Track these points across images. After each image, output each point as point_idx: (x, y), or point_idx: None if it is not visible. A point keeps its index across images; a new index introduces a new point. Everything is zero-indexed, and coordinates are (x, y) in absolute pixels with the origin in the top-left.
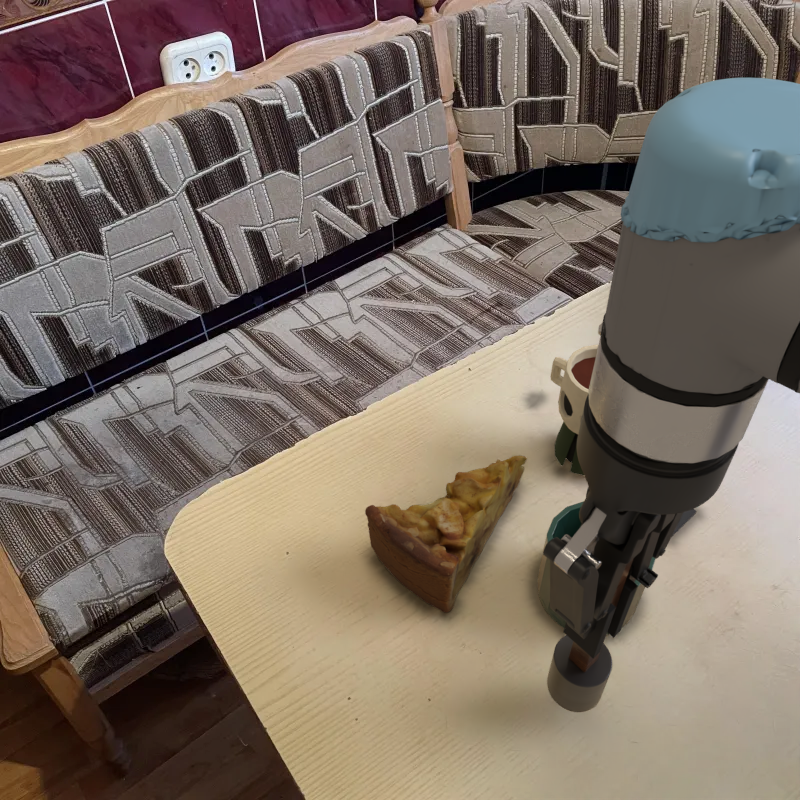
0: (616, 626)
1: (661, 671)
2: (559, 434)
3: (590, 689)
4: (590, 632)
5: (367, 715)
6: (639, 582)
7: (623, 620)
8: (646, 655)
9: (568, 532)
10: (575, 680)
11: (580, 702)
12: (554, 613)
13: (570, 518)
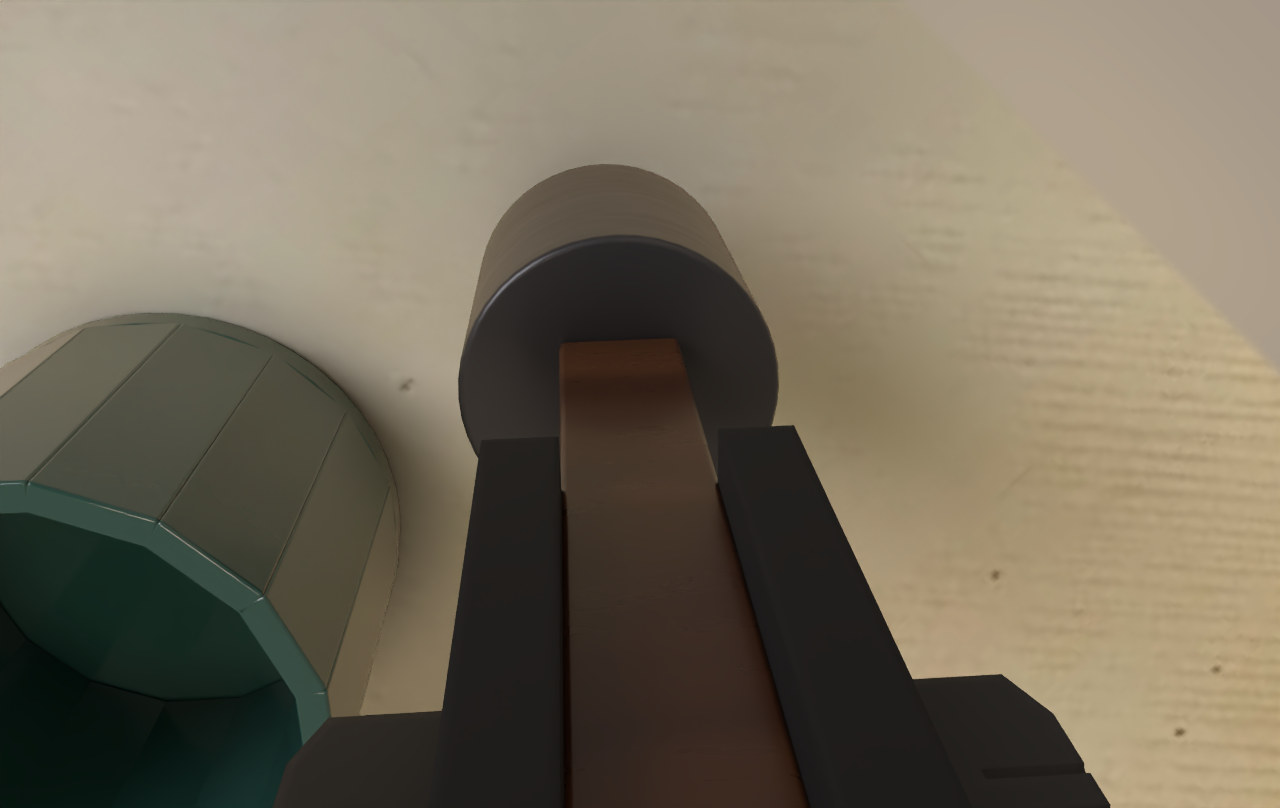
0: (559, 521)
1: (174, 64)
2: None
3: (706, 252)
4: (927, 692)
5: (1183, 657)
6: (1, 491)
7: (489, 528)
8: (176, 159)
9: (89, 802)
10: (747, 339)
11: (710, 228)
12: (393, 541)
13: None
